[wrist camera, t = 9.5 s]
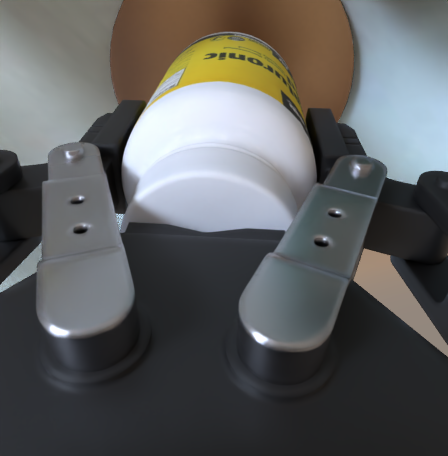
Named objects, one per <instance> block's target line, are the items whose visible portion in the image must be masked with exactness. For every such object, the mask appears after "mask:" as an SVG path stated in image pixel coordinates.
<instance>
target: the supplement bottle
mask: <svg viewBox="0 0 448 456" xmlns="http://www.w3.org/2000/svg"><path fill="white" fill-rule="evenodd" d="M121 175H122V186H123V191H124V195H125V198H126V201H127V204H128V207H127V210H126V212H125V215H124V218H123V221H122V224H121V231H120V233H124V232H125V231H126V228H127V226H128V224H129V222H137V223H156V224H169V225H173V226H178V227H182V228H187V229H191V230H196V231H200V232H217V231H226V230H235V229H244V228H252V229H271V230H285V231H287V229H288V228H289V226H290V224H291V223H292V221H293V219H294V218H295V216H296V215H297V213H298V211H299V210H300V208H301V206H302V205H303V203H304V201H305V200H306V198H307V196H308V195H309V193H310V191H311V190H312V188H313V186H314V185H315V183H317V171H316V163H315V156H314V152H313V146H312V142H311V139H310V136H309V133H308V130H307V126H306V122H305V119H304V115H303V110H302V107H301V103H300V99H299V96H298V93H297V88H296V84H295V82H294V79H293V76H292V74H291V72H290V70H289V68H288V66H287V64H286V63H285V61H284V60H283V59H282V57H281V56H280V55H279V54H278V53H277V52H276V51H275V50H274V49H273V48H272V47H271V46H270V45H268V44H267V43H265V42H264V41H262V40H260V39H258V38H256V37H254V36H251V35H248V34H244V33H239V32H219V33H214V34H210V35H207V36H205V37H202V38H200V39H198V40H196V41H195V42H193V43H192V44H191V45H189V46H188V47H186V48H185V49H184V50H183V51H182V52H181V53H180V54H179V55H178V56H177V57H176V59H175V60H174V61H173V63H172V64H171V66H170V67H169V69H168V71H167V72H166V74H165V76H164V78H163V79H162V81H161V82H160V84H159V86H158V87H157V89H156V91H155V92H154V94H153V96H152V97H151V99H150V101H149V102H148V104H147V106H146V108H145V109H144V111H143V112H142V114H141V116H140V117H139V119H138V121H137V122H136V124H135V126H134V128H133V130H132V132H131V135H130V137H129V139H128V142H127V144H126V147H125V151H124V155H123V159H122V168H121Z"/></svg>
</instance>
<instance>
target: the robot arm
mask: <svg viewBox="0 0 448 456" xmlns="http://www.w3.org/2000/svg"><path fill="white" fill-rule="evenodd" d="M146 106H147V104H146V102H145V101H143V100H122V101H121V103H120V104H119V106H118V107H117V108H116V110H115V111H114V112H113V113H107V114H105V115H103V116H101V117H100V118H98V119H97V120H96V121H95V122H94V123H93V125H92V127H90V128H89V130H88V132H86V134H85V135H84V136H83V137H82V139H81V140H80V141H79V142H75V143H68V144H64V145H61V146H58V147H56V148H54V149H53V150H51V151H50V152H49V154H48V163H45V164H38V165H29V166H20V163H19V160H18V157H17V155H16V154H15V153H13V152H11V151H7V150H0V284H1V283H2V282H3V281H4V280H5V279H6V278H7V277H8V276H9V275H10V274H11V273H12V272H13V271H14V270H15V269H16V268H17V267H18V266H19V265H20V264H21V263H22V261H23V260H24V259H25V258H26V257H27V256H28V255H29V254H30V253H31V252H32V251H33V250H34V249H35V248H36V247H37V246H38V245H39V244H40V243H41V241H42V260H41V261H39V262H38V264H37V272H36V273H34V274H32V275H31V276H29V277H27V278H25V279H24V280H22V281H20V282H18V283H17V284H15V285H13V286H11V287H10V288H8V289H6V290H4V291H3V292H1V293H0V456H448V357H447V356H446V355H444V354H443V353H442V352H441V351H439V350H438V349H437V348H436V347H435V346H433V345H432V344H431V343H430V342H428V341H427V340H426V339H425V338H424V337H422V336H421V335H420V334H419V333H417V332H416V331H415V330H413V329H412V328H411V327H410V326H409V325H407V324H406V323H405V322H404V321H402V320H401V319H400V318H399V317H398V316H396V315H395V314H394V313H393V312H391V311H390V310H389V309H388V308H387V307H385V306H384V305H383V304H382V303H380V302H379V301H377V299H375V298H374V297H373V296H372V295H370V294H369V293H368V292H367V291H366V290H364V289H363V288H362V287H361V286H359V285H358V284H357V283H356V282H354V281H353V279H354V276H355V273H356V270H357V267H358V264H359V261H360V258H361V255H362V252H363V249H364V248H365V249H369V250H372V251H376V252H380V253H384V254H387V255H391V256H390V258H391V262H392V264H393V266H394V267H395V269H396V270H397V272H398V273H399V275H400V276H401V278H402V279H403V280H404V282H405V283H406V285H407V286H408V288H409V289H410V291H411V292H412V294H413V295H414V296H415V298H416V299H417V301H418V302H419V304H420V305H421V307H422V308H423V310H424V311H425V312H426V314H427V316H428V317H429V318H430V320H431V321H432V323H433V324H434V326H435V327H436V329H437V330H438V332H439V333H440V334H441V336H442V337H443V339H444V340H445V342H446V343H447V345H448V255H447V254H448V172H443V171H429V172H425V173H423V174H421V175H420V177H419V179H418V182H417V185H413V184H408V183H403V182H399V181H395V180H392V179H389V178H386V174H387V168H386V166H385V165H384V164H383V163H381V162H380V161H378V160H376V159H374V158H371V157H367V156H366V153H365V151H364V149H363V147H362V145H361V143H360V141H359V139H358V137H357V135H356V133H355V131H354V130H353V129H352V128H350V127H349V126H348V125H346V124H343V123H336V120H335V118H334V115H333V113H332V111H331V109H328V108H308V110H307V113H306V119H305V122H306V126H307V130H308V133H309V136H310V139H311V142H312V146H313V152H314V156H315V163H316V171H317V183H315V185H314V186H313V188H312V190H311V191H310V193H309V195H308V196H307V198H306V200H305V201H304V203H303V205H302V206H301V208H300V210H299V211H298V213H297V215H296V216H295V218H294V219H293V221H292V223H291V224H290V226H289V228H288V229H287V231H285V230H271V229H252V228H244V229H235V230H226V231H217V232H200V231H196V230H191V229H187V228H182V227H178V226H173V225H169V224H156V223H137V222H129V224H128V226H127V228H126V231H125V232H124V233H120V230H119V226H118V222H117V218H116V214H125V212H126V210H127V207H128V204H127V201H126V198H125V195H124V191H123V186H122V175H121V168H122V159H123V155H124V151H125V147H126V144H127V142H128V139H129V137H130V135H131V132H132V130H133V128H134V126H135V124H136V122H137V121H138V119H139V117H140V116H141V114H142V112H143V111H144V109H145V108H146ZM115 213H116V214H115Z"/></svg>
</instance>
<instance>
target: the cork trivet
mask: <svg viewBox="0 0 448 456" xmlns="http://www.w3.org/2000/svg"><path fill="white" fill-rule="evenodd" d="M219 32H239V33H244V34H248V35H251V36H254V37H256V38H258V39H260V40H262V41H264V42H265V43H267V44H268V45H270V46H271V47H272V48H273V49H274V50H275V51H276V52H277V53H278V54H279V55H280V56H281V57H282V59H283V60H284V61H285V63H286V64H287V66H288V68H289V70H290V72H291V74H292V76H293V79H294V82H295V84H296V88H297V93H298V96H299V99H300V103H301V107H302V110H303V115H304V119H306V113H307V110H308V108H328V109H331V111H332V113H333V115H334V118H335V120H336V123H337V122H338V121H339V119H340V117H341V115H342V113H343V110H344V108H345V106H346V103H347V100H348V97H349V93H350V89H351V86H352V79H353V72H354V47H353V38H352V33H351V29H350V25H349V21H348V18H347V15H346V13H345V10H344V8H343V5H342V3H341V1H340V0H124V1H123V3H122V5H121V7H120V9H119V12H118V15H117V18H116V21H115V24H114V28H113V34H112V39H111V49H110V67H111V78H112V82H113V87H114V92H115V95H116V98H117V101H118V104H120V103H121V101H122V100H143V101H145V102H146V104H148V102H149V101H150V99H151V97H152V96H153V94H154V92H155V91H156V89H157V87H158V86H159V84H160V82H161V81H162V79H163V78H164V76H165V74H166V72H167V71H168V69H169V67H170V66H171V64H172V63H173V61H174V60H175V59H176V57H177V56H178V55H179V54H180V53H181V52H182V51H183V50H184V49H185V48H186V47H188V46H189V45H191V44H192V43H193V42H195V41H196V40H198V39H200V38H202V37H205V36H207V35H210V34H214V33H219Z"/></svg>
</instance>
